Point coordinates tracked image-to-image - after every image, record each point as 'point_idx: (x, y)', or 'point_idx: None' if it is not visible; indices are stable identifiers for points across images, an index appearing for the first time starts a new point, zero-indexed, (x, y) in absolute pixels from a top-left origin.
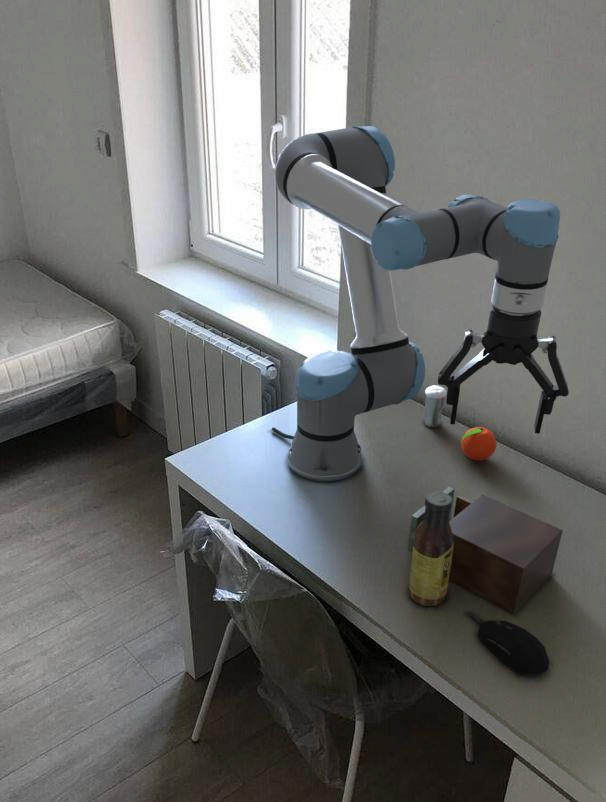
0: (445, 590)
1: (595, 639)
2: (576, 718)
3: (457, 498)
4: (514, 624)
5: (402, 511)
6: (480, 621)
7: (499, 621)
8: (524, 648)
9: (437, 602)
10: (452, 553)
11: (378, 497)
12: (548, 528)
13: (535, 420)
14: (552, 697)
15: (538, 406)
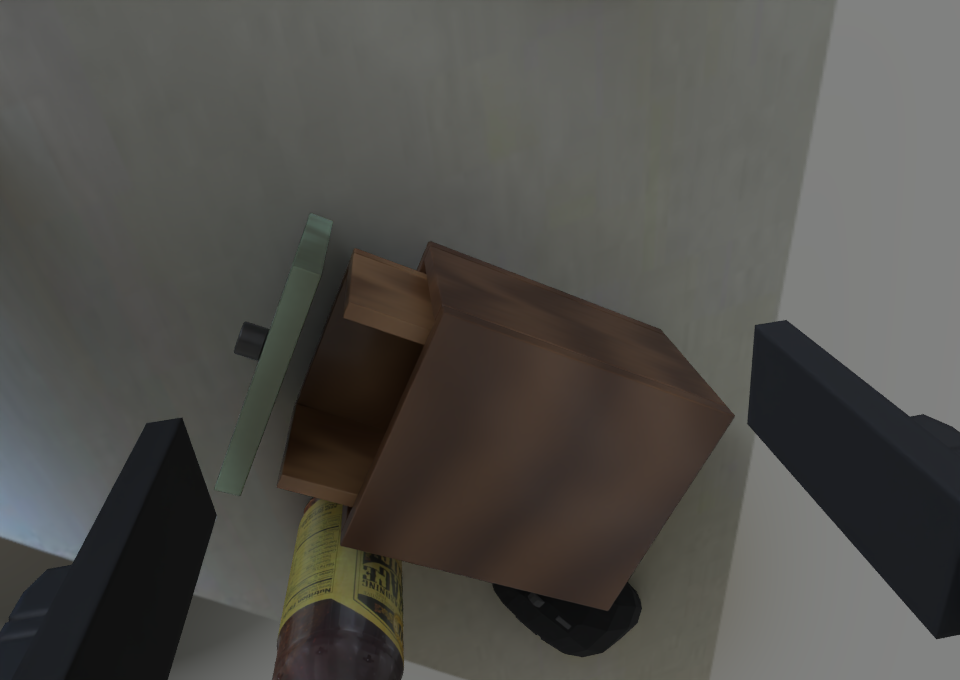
0: None
1: (739, 498)
2: (678, 670)
3: (347, 318)
4: None
5: (142, 181)
6: None
7: None
8: (597, 648)
9: None
10: (402, 626)
11: (8, 120)
12: (689, 425)
13: (777, 360)
14: (641, 650)
15: (851, 419)
